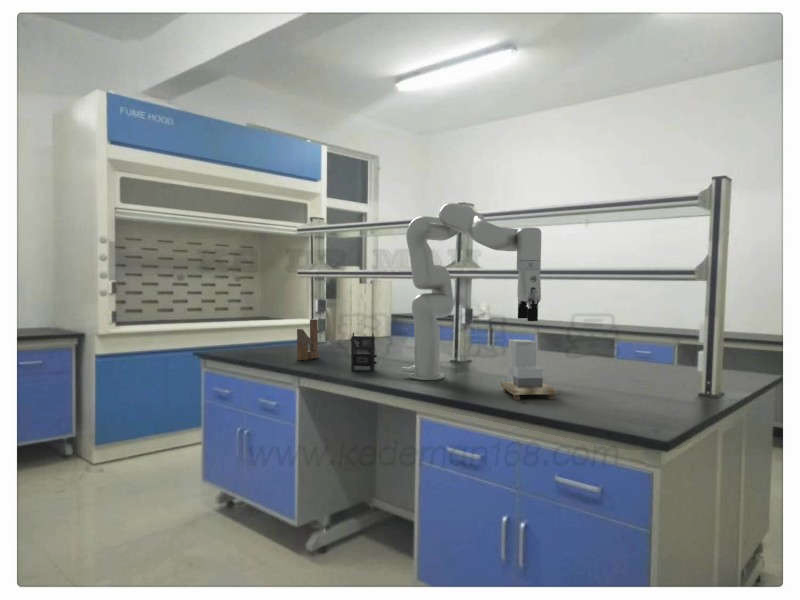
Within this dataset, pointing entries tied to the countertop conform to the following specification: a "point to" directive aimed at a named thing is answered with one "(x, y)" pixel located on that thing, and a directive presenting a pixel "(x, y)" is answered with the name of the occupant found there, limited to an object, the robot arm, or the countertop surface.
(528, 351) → the skincare box
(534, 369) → the housing
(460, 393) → the countertop surface
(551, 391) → the beech stand
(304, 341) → the wooden block
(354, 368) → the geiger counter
